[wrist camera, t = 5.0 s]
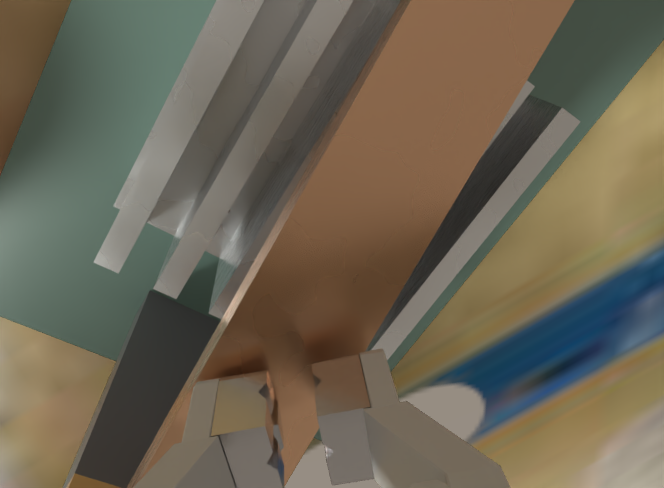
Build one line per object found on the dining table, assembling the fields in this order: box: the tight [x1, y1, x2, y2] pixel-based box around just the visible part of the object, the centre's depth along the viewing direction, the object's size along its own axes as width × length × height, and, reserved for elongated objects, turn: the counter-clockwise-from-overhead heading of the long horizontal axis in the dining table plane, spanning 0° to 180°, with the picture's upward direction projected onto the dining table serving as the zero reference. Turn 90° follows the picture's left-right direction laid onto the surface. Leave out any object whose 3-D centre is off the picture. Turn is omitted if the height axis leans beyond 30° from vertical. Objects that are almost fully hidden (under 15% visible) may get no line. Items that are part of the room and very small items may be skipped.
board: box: [0, 0, 664, 488], centre depth 15 cm, size 24×18×11 cm
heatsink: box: [94, 0, 580, 360], centre depth 16 cm, size 10×10×6 cm
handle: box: [127, 0, 575, 488], centre depth 11 cm, size 17×3×2 cm, turn 148°
